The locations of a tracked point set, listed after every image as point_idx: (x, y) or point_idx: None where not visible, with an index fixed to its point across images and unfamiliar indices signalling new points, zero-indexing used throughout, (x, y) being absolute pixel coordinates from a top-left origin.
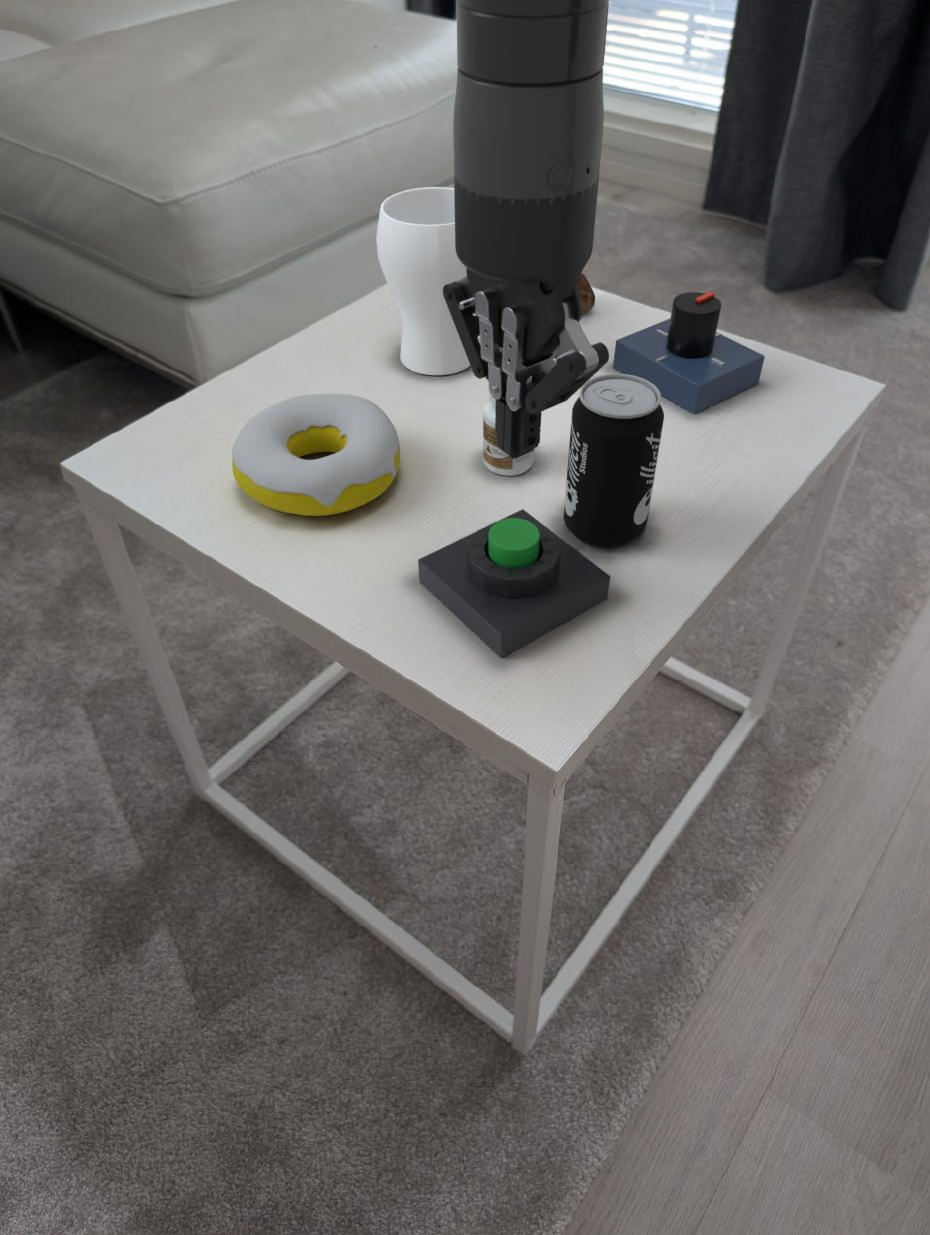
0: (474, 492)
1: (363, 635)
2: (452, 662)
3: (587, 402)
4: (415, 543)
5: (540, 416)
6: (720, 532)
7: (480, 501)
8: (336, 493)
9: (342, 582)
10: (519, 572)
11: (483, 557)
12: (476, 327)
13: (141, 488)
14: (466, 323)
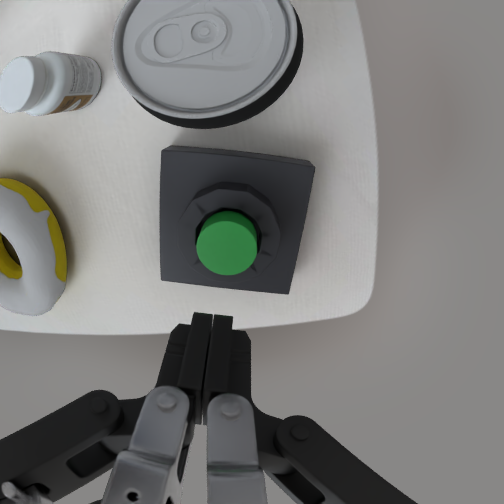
0: (93, 142)
1: None
2: (260, 304)
3: (164, 99)
4: (123, 236)
5: (250, 382)
6: (328, 3)
7: (107, 147)
8: (60, 284)
9: (134, 303)
10: (260, 261)
11: None
12: (68, 483)
13: (8, 319)
14: (65, 493)
